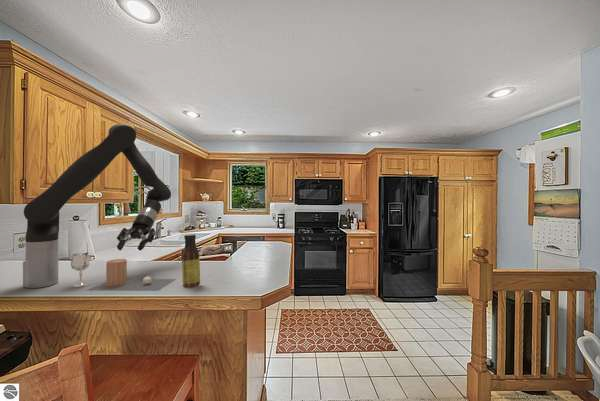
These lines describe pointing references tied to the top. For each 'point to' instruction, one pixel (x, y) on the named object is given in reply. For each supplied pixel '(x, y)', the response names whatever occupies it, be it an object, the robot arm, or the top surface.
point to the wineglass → (80, 265)
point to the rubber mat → (136, 285)
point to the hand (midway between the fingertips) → (129, 249)
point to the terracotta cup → (116, 272)
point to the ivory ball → (147, 280)
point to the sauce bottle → (190, 262)
